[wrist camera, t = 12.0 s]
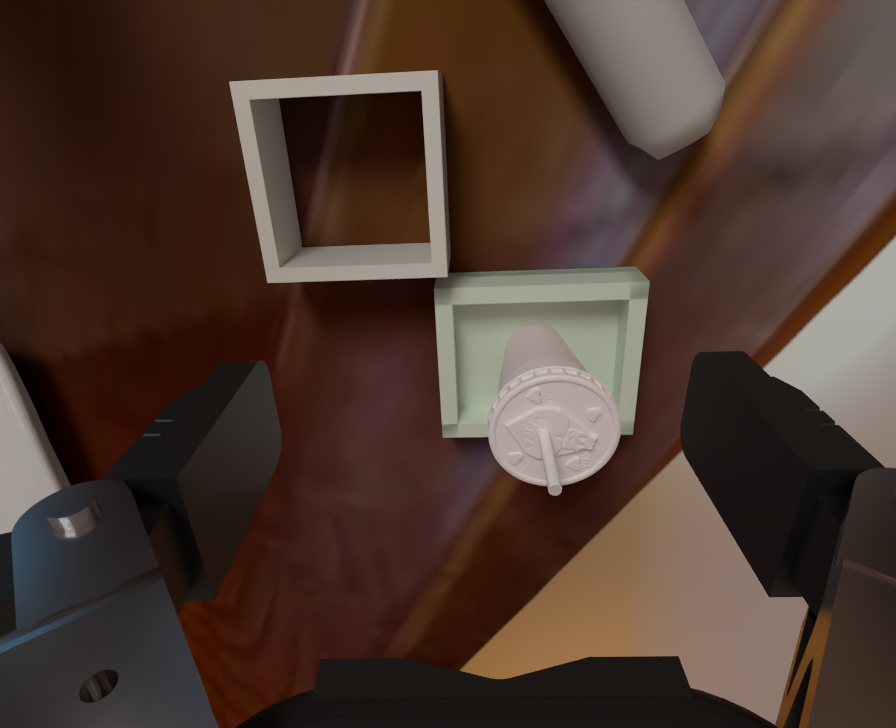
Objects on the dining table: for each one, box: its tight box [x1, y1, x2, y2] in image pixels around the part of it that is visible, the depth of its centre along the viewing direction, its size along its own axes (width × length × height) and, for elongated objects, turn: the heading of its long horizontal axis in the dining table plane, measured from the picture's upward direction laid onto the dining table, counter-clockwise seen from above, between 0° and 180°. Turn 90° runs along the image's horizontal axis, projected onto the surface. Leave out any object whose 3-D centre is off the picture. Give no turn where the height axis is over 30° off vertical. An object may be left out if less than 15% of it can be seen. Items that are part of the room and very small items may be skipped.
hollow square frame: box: [229, 70, 451, 283], centre depth 30 cm, size 10×10×4 cm
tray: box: [434, 267, 650, 438], centre depth 35 cm, size 12×10×3 cm
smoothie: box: [487, 323, 621, 495], centre depth 29 cm, size 6×6×14 cm
